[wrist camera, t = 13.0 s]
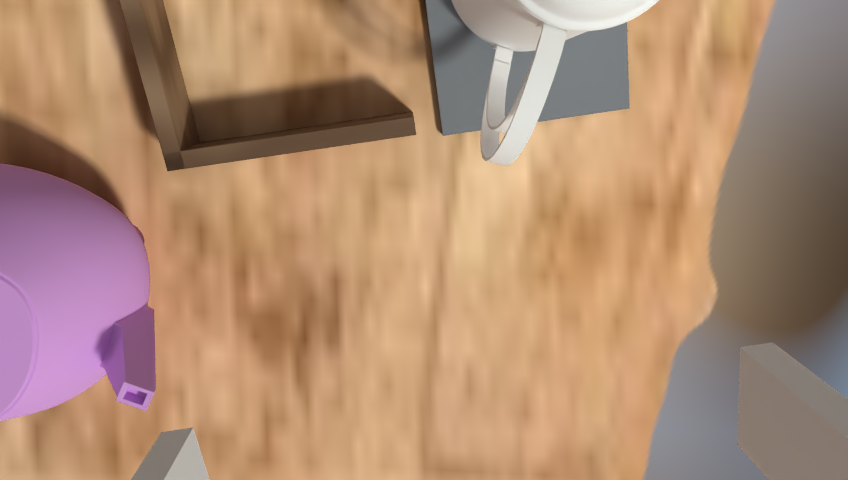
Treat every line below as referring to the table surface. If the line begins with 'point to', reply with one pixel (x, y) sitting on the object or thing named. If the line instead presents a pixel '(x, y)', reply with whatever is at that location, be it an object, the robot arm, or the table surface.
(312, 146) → the bracket
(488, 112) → the coffeepot
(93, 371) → the teapot
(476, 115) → the trivet
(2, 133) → the table surface
